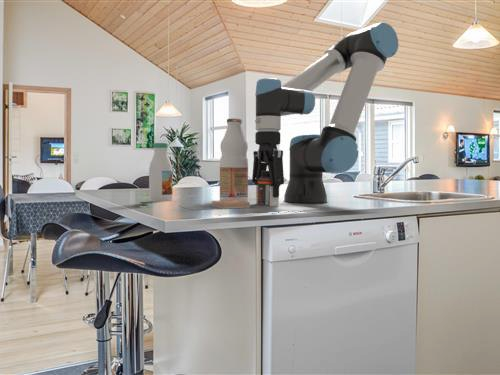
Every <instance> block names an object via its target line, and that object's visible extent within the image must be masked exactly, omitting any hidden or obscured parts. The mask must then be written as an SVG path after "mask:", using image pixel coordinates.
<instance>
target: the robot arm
mask: <svg viewBox="0 0 500 375" xmlns="http://www.w3.org/2000/svg"><path fill="white" fill-rule="evenodd" d="M398 50H399V38H398V34H397V32H396V30H395V29H394V28H393V26H392V25H390V24H389V23H387V22H379V23H373V24H372V25H369V26H367V27H365V28H362V29H359V30H356V31H353V32H350V33H349V34H346V36H344V37H341V39H340V40H338V41H337V42H336V43H334V44H333V45H332V46H331V47H329V48H328V49H326V50H325V51H324V54H323V56H322V57H320V58H319V59H317V60H316V61H314V62H313V63H312V64H310V65H309V66H308V67H307V68H304V69H303V70H302V71H301V72H299V73H298V74H297V75H295V76H294V77H292V78H291V79H290V80H288V81H287V82H286V83H284V84H282V82H281V79H279V78H277V77H276V78H275V77H266V78H260V79H258V80H256V81H257V82H256V85H255V93H254V94H255V120H254V122H255V130H256V132H255V135H254V136H255V141H254V142H255V144H256V145H258V150H253V153H252V154H253V164H252V177H251V181H252V183H254V185H255V204H256V205H258V179H259V178H260V177H261V171H267V169H268V171H269V174H270V180H271V184H270V185H269V186H270V206H269V207H279V205H280V204H279V202H280V201H279V200H280V187H281V185H284V184H285V178H284V177H285V176H284V175H285V174H284V159H283V158H284V157H283V156H284V150H281V149H279V150H278V146H277V145H280V144H281V132H280V131H281V130H282V129H281V126H282V124H281V123H282V122H281V119H282V116H289V115H290V116H291V115H300V116H301V115H309V114H311V113H312V112H313V111H314V109H315V108H316V98H315V95H314V93H313V92H312V91H314V90H315V89H317V88H318V87H320V86H321V85H322V84H323V83H325V82H326V81H327V80H329V79H330V78H331V77H333V76H334V75H335V74H337V75H338V74H342V73H343V72H344V71H346V70H349V69H350V71H349V73H348V76H347V79H346V80H345V84H344V86H343V88H342V91H341V93H340V96H339V98H338V101H337V104H336V107H335V109H334V111H333V114H332V117H331V119H330V122H329V124H328V125H325V126H323V127H322V130H321V132H320V134H314V133H313V134H311V133H310V134H302V135H297V136H294V137H292V138H291V139H290V141H289V149H288V151H289V180H288V183H287V187H286V188H285V189H286V190H285V193H284V198H283V199H284V202H287V203H295V204H296V203H297V204H298V203H299V204H304V203H305V204H320V203H327V202H328V195H327V190H326V188H325V185H324V182H323V181H324V180H323V173H325V174H327V173H329V174H342V173H346V172H348V171H349V170H351V169H352V168H353V167H354V166H355V164H356V162H357V161H358V158H359V150H358V149H359V146H358V143H357V137H356V135H355V131H356V128H357V126H358V125H359V121H360V119H361V116H362V113H363V111H364V108H365V105H366V102H367V100H368V97H369V94H370V91H371V89H372V86H373V84H374V81H375V78H376V75H377V73H378V72H380V71H382V70H383V69H384V67H385V64H386V62H387V59H389V58H392V57H394V55H396V54H397V52H398ZM274 181H275V182H274Z"/></svg>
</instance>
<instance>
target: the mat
mask: <svg viewBox="0 0 500 375" xmlns="http://www.w3.org/2000/svg"><path fill="white" fill-rule="evenodd" d="M178 207H179V208H182V209H183V208H184V209H187V210H190V211H207V210H209V211H210V210H214V211H215V210H224V209H223V208H219V207H214V206H212V204H193V205H191V204H189V205H178ZM251 208H253V209H254V207H253V206H249V208H248V209H251ZM230 209H232V210H233V209H234V210H235V209H237V208H226V209H225V210H230Z"/></svg>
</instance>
